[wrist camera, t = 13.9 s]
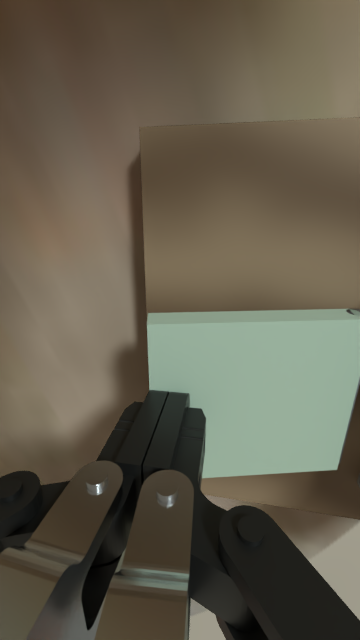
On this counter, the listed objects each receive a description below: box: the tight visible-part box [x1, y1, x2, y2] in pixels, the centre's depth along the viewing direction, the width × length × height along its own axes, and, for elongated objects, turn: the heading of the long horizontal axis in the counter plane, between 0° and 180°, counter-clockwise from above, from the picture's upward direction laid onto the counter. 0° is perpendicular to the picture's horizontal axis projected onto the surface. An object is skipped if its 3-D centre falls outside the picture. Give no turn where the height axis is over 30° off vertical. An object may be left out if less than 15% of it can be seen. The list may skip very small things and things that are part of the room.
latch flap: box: [147, 309, 360, 478], centre depth 12 cm, size 7×8×1 cm
